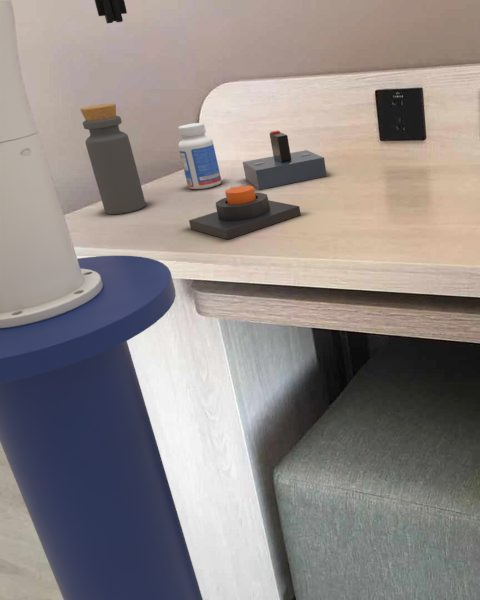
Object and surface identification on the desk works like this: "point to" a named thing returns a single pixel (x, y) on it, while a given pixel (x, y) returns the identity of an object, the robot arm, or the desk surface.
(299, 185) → the desk surface
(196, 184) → the pill bottle
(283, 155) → the black toggle lever
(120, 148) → the bottle
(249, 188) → the switch
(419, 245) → the desk surface
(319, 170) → the panel
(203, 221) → the switch base
